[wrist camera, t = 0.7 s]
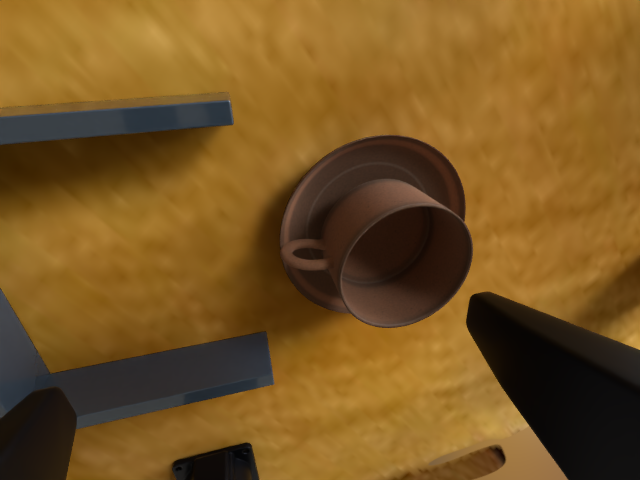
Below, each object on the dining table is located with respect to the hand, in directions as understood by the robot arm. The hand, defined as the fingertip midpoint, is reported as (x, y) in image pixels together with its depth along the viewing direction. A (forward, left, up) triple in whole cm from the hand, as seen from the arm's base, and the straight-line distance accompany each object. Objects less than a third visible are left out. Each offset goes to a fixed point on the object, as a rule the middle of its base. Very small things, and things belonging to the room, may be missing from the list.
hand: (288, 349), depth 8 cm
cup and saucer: (-4, -7, -14) cm, 16 cm away
